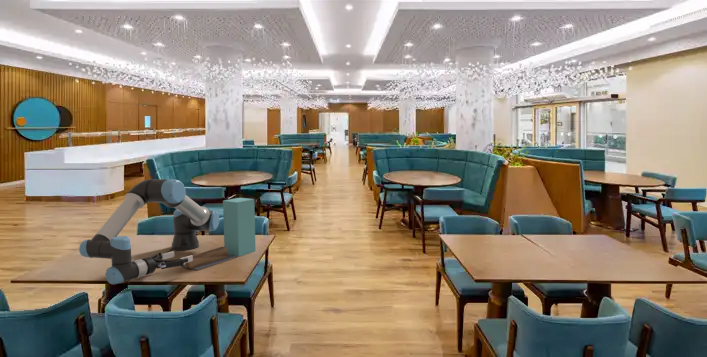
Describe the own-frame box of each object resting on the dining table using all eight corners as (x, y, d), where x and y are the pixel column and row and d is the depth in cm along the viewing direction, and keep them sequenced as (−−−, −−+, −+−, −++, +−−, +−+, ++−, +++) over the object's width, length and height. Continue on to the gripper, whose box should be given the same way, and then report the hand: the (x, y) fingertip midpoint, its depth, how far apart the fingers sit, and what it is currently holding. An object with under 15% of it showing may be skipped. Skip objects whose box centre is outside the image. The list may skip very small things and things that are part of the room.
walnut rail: (185, 267, 220) (185, 257, 220) (222, 255, 241) (222, 246, 240) (190, 268, 218) (190, 258, 218) (227, 256, 239) (227, 247, 238)
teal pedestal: (224, 253, 247) (222, 200, 244) (241, 248, 258) (240, 197, 255) (238, 256, 241) (237, 202, 238) (255, 251, 252) (254, 199, 249)
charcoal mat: (181, 266, 223) (181, 265, 223) (221, 254, 245) (221, 253, 245) (197, 270, 217) (197, 269, 217) (236, 257, 239) (236, 256, 239)
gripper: (127, 270, 205) (166, 259, 223) (161, 280, 192) (200, 267, 210) (126, 255, 204) (166, 245, 222) (160, 263, 191) (200, 252, 210)
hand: (183, 255), depth 216 cm, fingers open, 13 cm apart
